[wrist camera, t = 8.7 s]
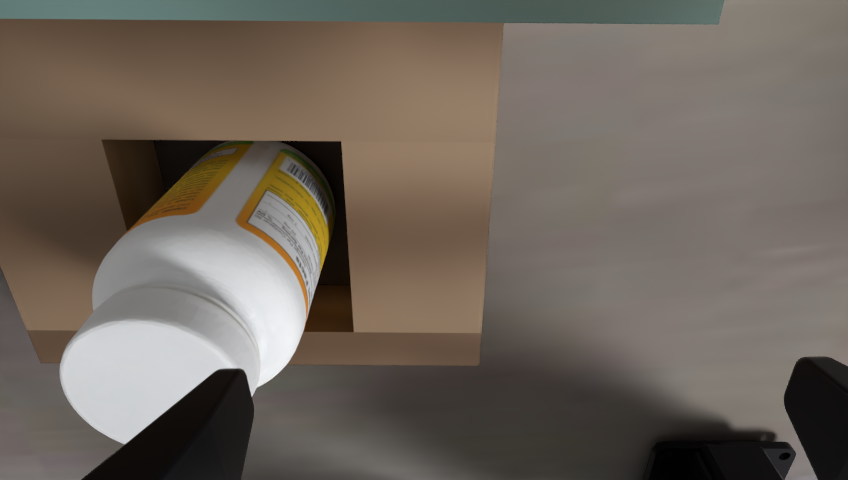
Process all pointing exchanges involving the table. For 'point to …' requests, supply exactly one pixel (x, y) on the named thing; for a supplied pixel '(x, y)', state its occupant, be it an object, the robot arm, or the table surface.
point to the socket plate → (272, 121)
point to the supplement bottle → (202, 286)
